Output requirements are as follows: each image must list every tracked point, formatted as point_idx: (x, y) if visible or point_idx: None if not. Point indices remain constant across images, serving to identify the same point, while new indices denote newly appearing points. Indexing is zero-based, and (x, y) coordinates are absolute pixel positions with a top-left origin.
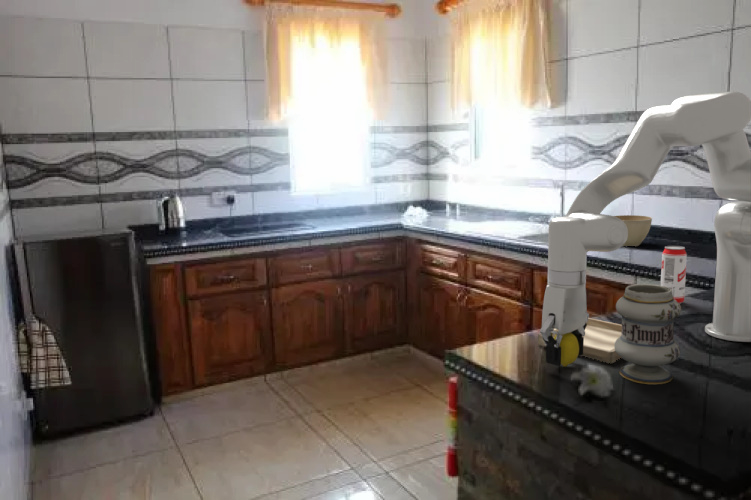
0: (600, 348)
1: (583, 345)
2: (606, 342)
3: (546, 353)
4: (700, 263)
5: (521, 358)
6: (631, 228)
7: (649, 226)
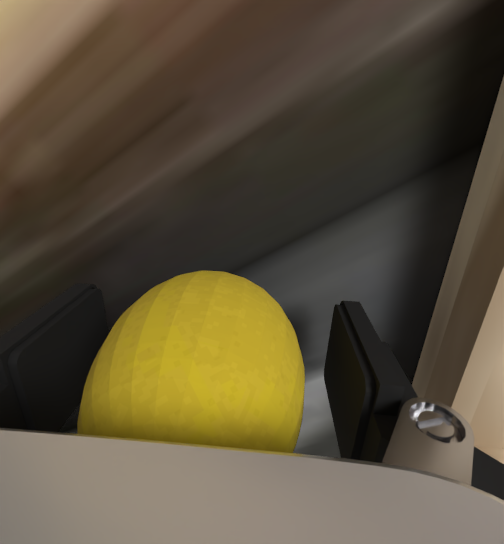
0: None
1: (479, 349)
2: None
3: (42, 311)
4: None
5: (156, 10)
6: None
7: None
